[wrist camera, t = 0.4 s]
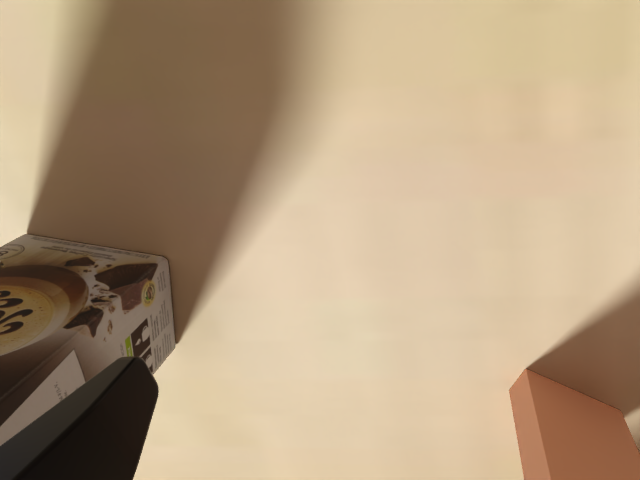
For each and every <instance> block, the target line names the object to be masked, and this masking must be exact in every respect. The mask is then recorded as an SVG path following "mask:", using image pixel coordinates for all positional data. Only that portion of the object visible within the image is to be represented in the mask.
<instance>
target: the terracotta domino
mask: <svg viewBox="0 0 640 480" xmlns="http://www.w3.org/2000/svg"><path fill="white" fill-rule="evenodd" d="M509 393H510V398H511V404H512V410H513V416H514V422H515V428H516V434H517V439H518V445H519V451H520V457H521V463H522V469H523V475H524V480H640V453H639V451H638V449H637V447H636V444H635V442H634V440H633V438H632V435H631V433H630V431H629V428H628V426H627V424H626V422H625V419H624V417H623V415H622V413H621V410H618V409H616V408H614V407H611V406H609V405H607V404H605V403H602V402H600V401H598V400H596V399H593V398H591V397H589V396H587V395H584V394H582V393H580V392H578V391H575V390H573V389H571V388H569V387H566V386H564V385H562V384H560V383H557V382H555V381H553V380H550V379H548V378H546V377H544V376H541V375H539V374H537V373H535V372H532V371H530V370H528V369H525V370H524V372H523V373H522V374H521V375H520V377H519V378H518V379H517V381H516V382H515V383H514V385H513V386H512V387H511V389H510V390H509Z"/></svg>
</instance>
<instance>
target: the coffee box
mask: <svg viewBox="0 0 640 480" xmlns="http://www.w3.org/2000/svg"><path fill="white" fill-rule="evenodd" d="M174 349H175V334H174V322H173V310H172V299H171V286H170V275H169V265H168V261H167V259H166V258H164V257H162V256H157V255H151V254H145V253H138V252H132V251H126V250H120V249H114V248H108V247H102V246H96V245H90V244H83V243H77V242H71V241H65V240H59V239H53V238H47V237H41V236H35V235H29V234H24V235H22V236H20V237H18V238H16V239H15V240H13V241H11V242H9V243H7V244H5V245H4V246H2V247H0V446H1V445H2V444H3V443H5V442H6V441H7V440H9V439H10V438H11V437H13V436H14V435H15V434H17V433H18V432H20V431H21V430H22V429H24V428H25V427H26V426H28V425H29V424H30V423H32V422H33V421H34V420H36V419H37V418H38V417H40V416H41V415H42V414H44V413H45V412H47V411H48V410H49V409H51V408H52V407H53V406H55V405H56V404H57V403H59V402H60V401H61V400H63V399H64V398H65V397H67V396H68V395H69V394H71V393H72V392H74V391H75V390H76V389H78V388H79V387H80V386H82V385H83V384H84V383H86V382H87V381H88V380H90V379H91V378H92V377H94V376H95V375H96V374H98V373H99V372H101V371H102V370H103V369H105V368H106V367H107V366H109V365H110V364H111V363H113V362H114V361H115V360H117V359H118V358H120V357H131V356H138V357H141V358H142V359H144V361H145V362H146V364H147V366H148V368H149V369H150V371H151V373H152V375H153V374H154V373H155V372H156V371H157V369H158V368H159V367H160V366H161V364H162V363H163V362H164V361H165V360H166V358H167V357H168V356H169V355H170V354H171V353H172V351H173V350H174Z"/></svg>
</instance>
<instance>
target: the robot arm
mask: <svg viewBox="0 0 640 480" xmlns="http://www.w3.org/2000/svg"><path fill="white" fill-rule="evenodd" d="M157 398H158V384H157V382H156V380H155V378H154V377H153V375H152V373H151V371H150V369H149V368H148V366H147V364H146V362H145V361H144V359H142V358H141V357H138V356H131V357H120V358H118V359H117V360H115V361H114V362H113V363H111V364H110V365H109V366H107V367H106V368H105V369H103V370H102V371H101V372H99V373H98V374H96V375H95V376H94V377H92V378H91V379H90V380H88V381H87V382H86V383H84V384H83V385H82V386H80V387H79V388H78V389H76V390H75V391H74V392H72V393H71V394H69V395H68V396H67V397H65V398H64V399H63V400H61V401H60V402H59V403H57V404H56V405H55V406H53V407H52V408H51V409H49V410H48V411H47V412H45V413H44V414H42V415H41V416H40V417H38V418H37V419H36V420H34V421H33V422H32V423H30V424H29V425H28V426H26V427H25V428H24V429H22V430H21V431H20V432H18V433H17V434H15V435H14V436H13V437H11V438H10V439H9V440H7V441H6V442H5V443H3V444H2V445H1V446H0V480H133V477H134V475H135V472H136V469H137V466H138V463H139V460H140V456H141V453H142V449H143V446H144V443H145V439H146V436H147V432H148V429H149V426H150V422H151V419H152V415H153V412H154V409H155V405H156V402H157Z"/></svg>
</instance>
